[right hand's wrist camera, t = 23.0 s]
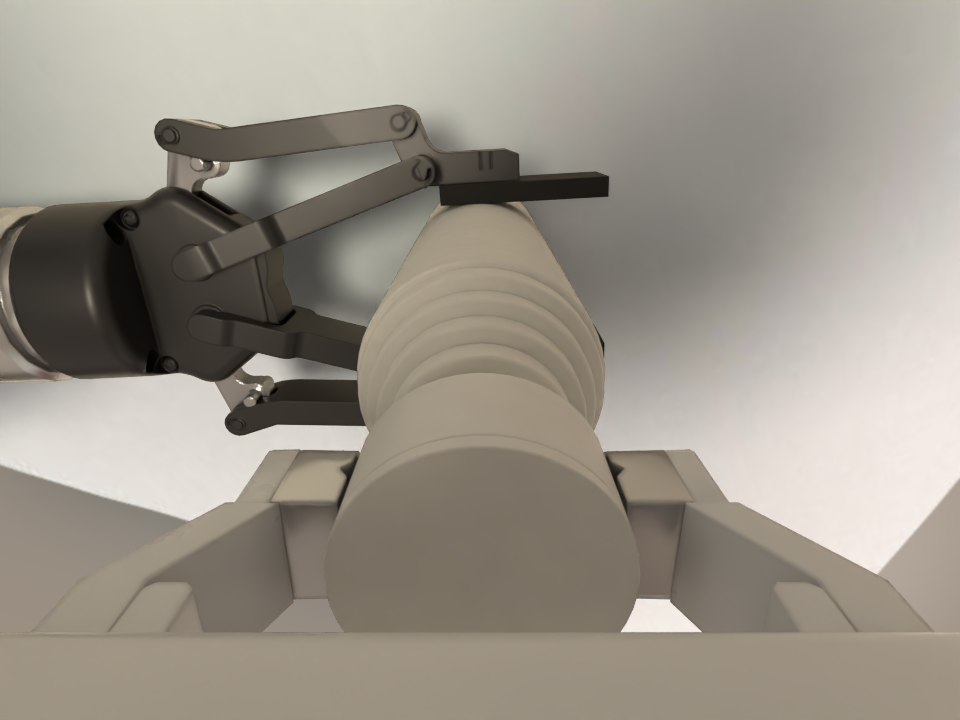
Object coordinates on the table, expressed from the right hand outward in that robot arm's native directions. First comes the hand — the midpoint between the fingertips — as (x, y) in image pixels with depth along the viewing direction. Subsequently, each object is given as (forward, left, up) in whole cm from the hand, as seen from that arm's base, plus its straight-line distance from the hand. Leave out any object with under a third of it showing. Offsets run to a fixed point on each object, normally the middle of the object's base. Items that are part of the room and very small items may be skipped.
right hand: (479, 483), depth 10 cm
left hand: (-5, +1, -16) cm, 17 cm away
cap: (0, 0, +2) cm, 2 cm away
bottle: (0, 0, -23) cm, 23 cm away
